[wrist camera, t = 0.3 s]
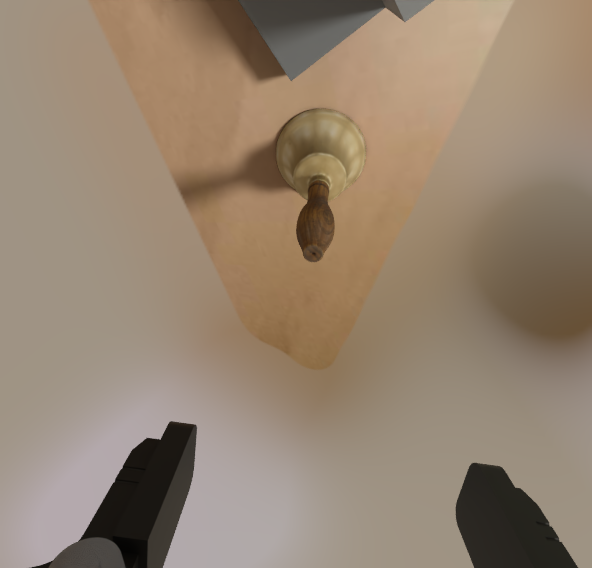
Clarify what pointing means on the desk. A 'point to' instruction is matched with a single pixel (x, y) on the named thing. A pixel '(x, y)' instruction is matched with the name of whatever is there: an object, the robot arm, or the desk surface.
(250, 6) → the cubby
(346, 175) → the hand bell
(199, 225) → the desk surface
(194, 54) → the desk surface
